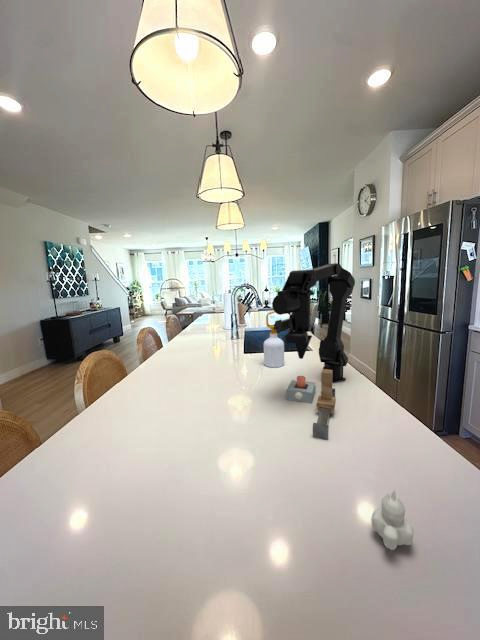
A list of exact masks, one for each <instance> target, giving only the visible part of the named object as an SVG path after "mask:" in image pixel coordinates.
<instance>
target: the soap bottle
mask: <svg viewBox="0 0 480 640" xmlns="http://www.w3.org/2000/svg"><path fill="white" fill-rule="evenodd" d="M271 314H276V312H275V311H274V310H272V311H270V312H268V313H267V314H266V316H265V317H266V318H265V319H266V320H265V322H266V323H265V324H266V327H267V328H268V329H270V330H271V331H270V332H269V337H268V338H267V339H265V340H264V341H263V364H264V366H266V367H268V368H281V367H283V366H284V365H285V342H284V340H282V339H281V338H279V336H278V333H277V332H276V330H274V324H269V315H271Z"/></svg>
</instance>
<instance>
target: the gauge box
mask: <svg viewBox="0 0 480 640" xmlns="http://www.w3.org/2000/svg"><path fill="white" fill-rule="evenodd" d="M285 391H286V393H285V394H286V400H289V401H294V402H299V403H300V402H301V403H307V404H312V403H313V401H314V398H315V396H316V383H315V382H311V381H306V389H300V388H297V380H296V379H295V380H293V379H291V381H290V383H289V384H288V386H287V387H286V390H285Z"/></svg>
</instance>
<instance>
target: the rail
mask: <svg viewBox="0 0 480 640" xmlns="http://www.w3.org/2000/svg"><path fill="white" fill-rule="evenodd" d="M332 397H336V388H334V387H332ZM318 412H319V411H318ZM317 417H318V418H317V420H316V422H313V423H312V437H313V438H316V439H321V440H327V441H328V440H329V431H330V430H329V428H330V427H329V422H330V417H331V409H329V408H323V407H321V409H320V412H319V413H318V416H317Z"/></svg>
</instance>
